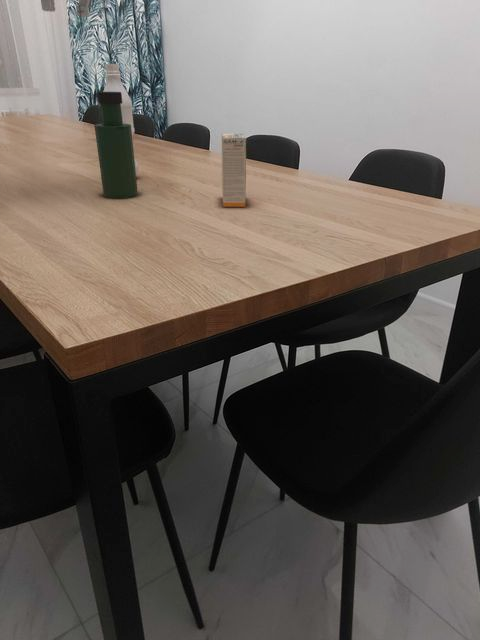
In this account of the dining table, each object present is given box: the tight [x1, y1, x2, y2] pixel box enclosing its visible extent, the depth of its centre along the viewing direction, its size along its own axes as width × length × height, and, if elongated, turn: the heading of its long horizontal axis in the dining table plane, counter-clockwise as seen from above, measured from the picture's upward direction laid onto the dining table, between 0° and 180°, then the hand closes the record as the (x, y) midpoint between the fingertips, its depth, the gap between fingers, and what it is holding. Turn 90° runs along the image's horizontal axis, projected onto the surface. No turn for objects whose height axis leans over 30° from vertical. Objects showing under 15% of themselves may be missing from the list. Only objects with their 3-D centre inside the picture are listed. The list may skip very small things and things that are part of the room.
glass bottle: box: [94, 103, 139, 200], centre depth 105 cm, size 7×7×18 cm
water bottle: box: [102, 63, 139, 178], centre depth 120 cm, size 7×7×25 cm
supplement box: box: [221, 133, 247, 208], centre depth 102 cm, size 8×5×13 cm, turn 5°
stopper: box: [96, 91, 122, 105], centre depth 101 cm, size 5×5×6 cm
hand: (66, 14), depth 96 cm, fingers open, 8 cm apart
